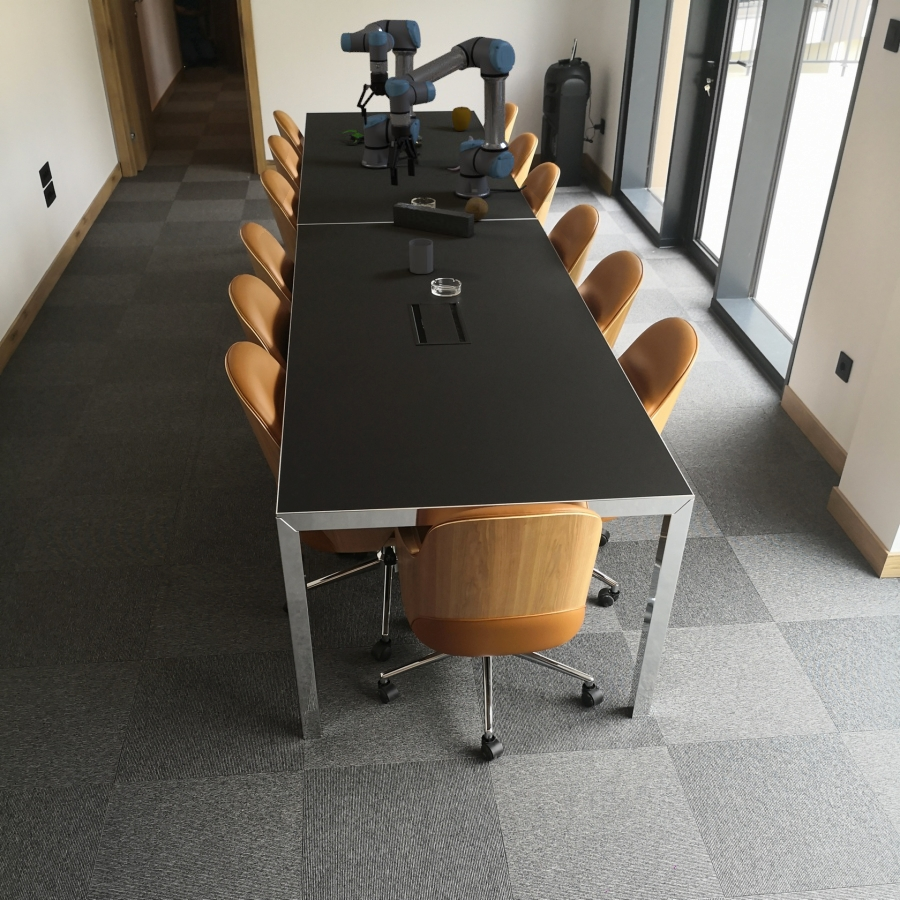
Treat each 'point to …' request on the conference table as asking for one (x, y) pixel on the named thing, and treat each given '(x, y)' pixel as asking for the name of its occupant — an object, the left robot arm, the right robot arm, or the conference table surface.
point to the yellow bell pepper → (461, 118)
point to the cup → (421, 256)
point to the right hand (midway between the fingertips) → (403, 180)
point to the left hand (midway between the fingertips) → (381, 124)
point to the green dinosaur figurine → (354, 137)
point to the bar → (433, 220)
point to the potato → (477, 207)
